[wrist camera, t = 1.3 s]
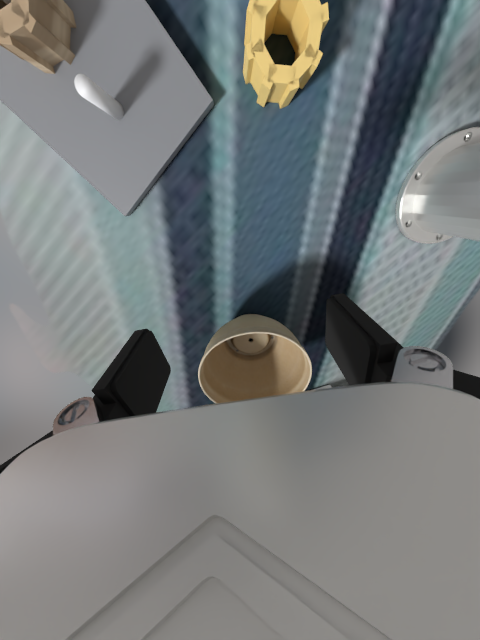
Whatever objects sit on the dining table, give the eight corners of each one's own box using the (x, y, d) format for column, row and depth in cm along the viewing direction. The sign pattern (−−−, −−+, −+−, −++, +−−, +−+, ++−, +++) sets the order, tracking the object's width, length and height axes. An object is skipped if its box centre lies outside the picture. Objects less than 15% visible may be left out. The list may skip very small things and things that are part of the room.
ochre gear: (284, -18, 18) (298, -74, 15) (322, 66, 21) (342, 38, 17) (229, 57, 21) (229, 25, 17) (270, 125, 23) (277, 111, 19)
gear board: (6, -199, 14) (-158, -485, 8) (213, 105, 22) (207, 72, 16) (-57, 39, 19) (-185, -30, 13) (130, 215, 28) (101, 221, 22)
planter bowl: (271, 278, 33) (286, 311, 24) (304, 347, 40) (326, 392, 31) (188, 321, 37) (173, 363, 27) (233, 376, 44) (233, 424, 35)
